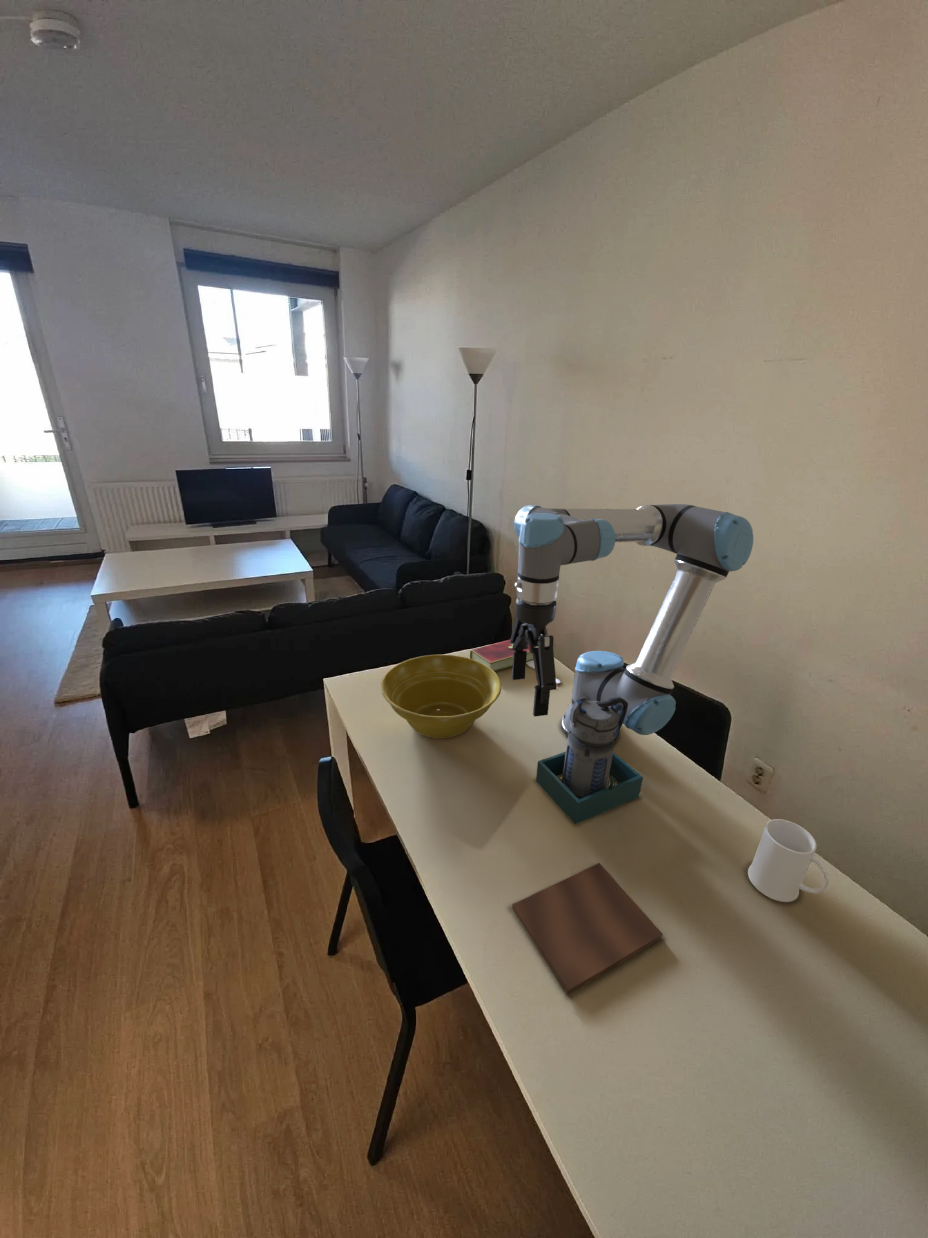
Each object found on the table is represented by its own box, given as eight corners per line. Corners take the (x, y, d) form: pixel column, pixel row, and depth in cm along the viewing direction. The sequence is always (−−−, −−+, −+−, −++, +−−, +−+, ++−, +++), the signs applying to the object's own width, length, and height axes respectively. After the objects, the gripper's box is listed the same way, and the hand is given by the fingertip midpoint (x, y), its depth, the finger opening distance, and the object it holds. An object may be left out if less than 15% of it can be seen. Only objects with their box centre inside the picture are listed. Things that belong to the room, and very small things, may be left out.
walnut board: (598, 867, 99) (599, 862, 98) (662, 939, 86) (663, 934, 85) (511, 908, 90) (512, 904, 90) (567, 995, 77) (568, 990, 77)
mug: (826, 904, 93) (848, 856, 88) (800, 925, 89) (821, 877, 84) (764, 857, 102) (780, 811, 97) (738, 874, 98) (754, 828, 93)
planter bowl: (458, 779, 120) (459, 732, 115) (357, 733, 136) (354, 690, 130) (518, 715, 145) (521, 674, 140) (427, 682, 161) (427, 644, 155)
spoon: (551, 685, 161) (551, 684, 161) (522, 660, 176) (522, 659, 175) (565, 682, 163) (565, 680, 163) (535, 658, 178) (535, 656, 178)
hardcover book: (469, 659, 176) (470, 648, 174) (517, 646, 186) (518, 636, 185) (489, 673, 166) (490, 662, 165) (538, 659, 177) (539, 648, 175)
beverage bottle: (623, 799, 116) (641, 706, 106) (571, 810, 112) (585, 715, 102) (600, 770, 125) (615, 682, 115) (551, 779, 121) (562, 690, 111)
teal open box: (596, 759, 128) (600, 730, 125) (639, 797, 116) (645, 767, 113) (535, 781, 120) (538, 751, 117) (575, 824, 108) (579, 792, 105)
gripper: (498, 577, 104) (494, 667, 113) (540, 628, 82) (531, 735, 91) (533, 575, 106) (526, 664, 114) (583, 624, 84) (570, 730, 92)
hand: (528, 695), depth 103 cm, fingers open, 13 cm apart
